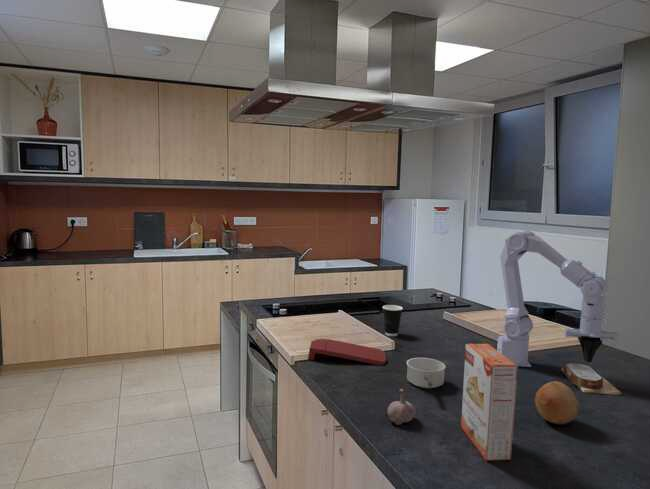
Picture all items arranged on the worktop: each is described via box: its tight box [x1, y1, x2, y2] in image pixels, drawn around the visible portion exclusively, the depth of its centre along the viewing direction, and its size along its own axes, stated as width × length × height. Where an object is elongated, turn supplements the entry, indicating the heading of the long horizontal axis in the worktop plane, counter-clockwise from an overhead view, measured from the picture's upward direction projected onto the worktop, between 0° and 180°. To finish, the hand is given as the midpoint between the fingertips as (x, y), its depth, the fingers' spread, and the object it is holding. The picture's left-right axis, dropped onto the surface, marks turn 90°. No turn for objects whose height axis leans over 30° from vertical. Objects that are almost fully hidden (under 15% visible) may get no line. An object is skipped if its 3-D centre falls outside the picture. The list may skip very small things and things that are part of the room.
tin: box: [563, 362, 604, 389], centre depth 141 cm, size 15×3×8 cm
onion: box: [534, 380, 581, 425], centre depth 114 cm, size 10×10×10 cm
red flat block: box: [307, 338, 388, 366], centre depth 156 cm, size 12×5×26 cm
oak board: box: [560, 367, 622, 396], centre depth 141 cm, size 10×17×1 cm, turn 173°
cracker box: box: [460, 343, 519, 462], centre depth 102 cm, size 14×6×21 cm, turn 5°
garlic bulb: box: [386, 388, 416, 426], centre depth 113 cm, size 8×7×8 cm
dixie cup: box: [382, 304, 404, 337], centre depth 183 cm, size 8×8×11 cm
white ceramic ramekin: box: [405, 357, 447, 389], centre depth 132 cm, size 12×20×6 cm, turn 172°
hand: (587, 361), depth 140 cm, fingers closed
